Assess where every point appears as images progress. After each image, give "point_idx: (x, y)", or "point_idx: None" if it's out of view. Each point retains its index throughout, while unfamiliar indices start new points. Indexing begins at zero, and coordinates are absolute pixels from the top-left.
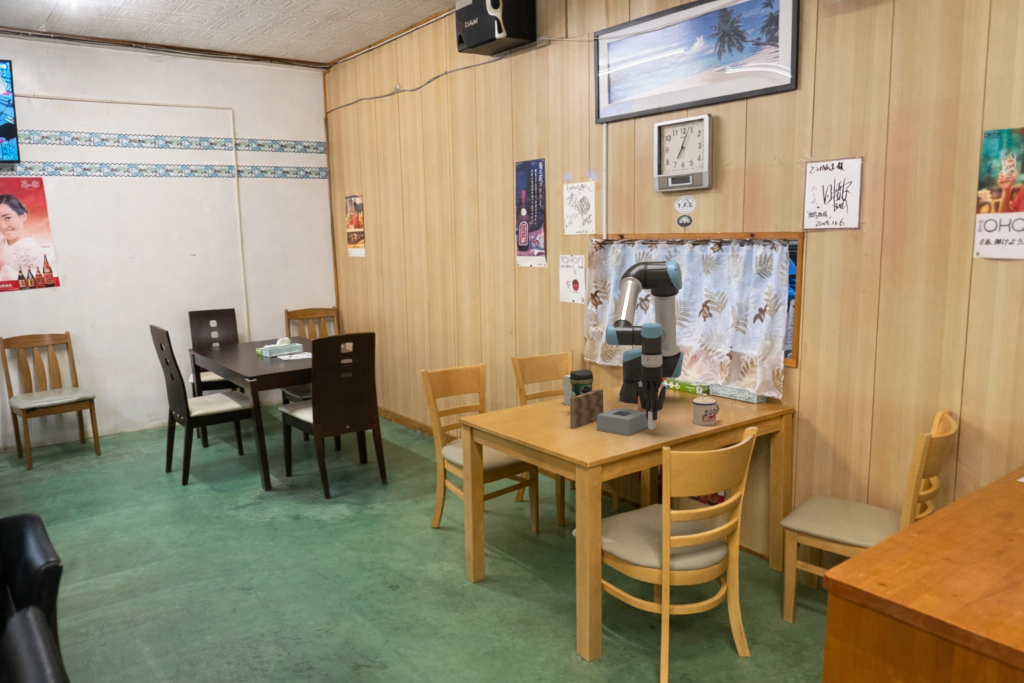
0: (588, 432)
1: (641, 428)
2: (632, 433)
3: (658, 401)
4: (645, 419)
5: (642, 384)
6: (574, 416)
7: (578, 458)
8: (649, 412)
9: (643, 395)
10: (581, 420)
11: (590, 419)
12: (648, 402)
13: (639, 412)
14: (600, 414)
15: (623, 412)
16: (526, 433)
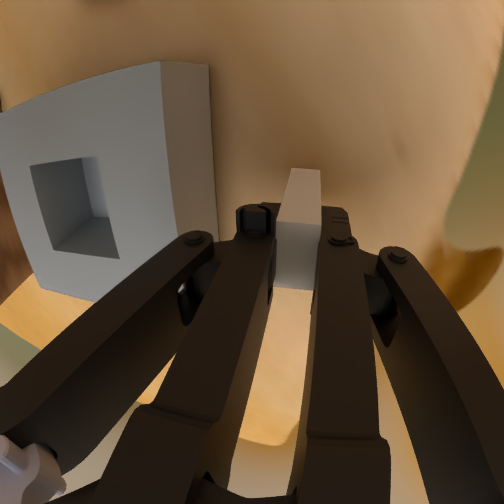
0: None
1: (208, 143)
2: (217, 235)
3: (400, 389)
4: (185, 98)
5: (35, 491)
6: (14, 290)
7: (246, 438)
8: (289, 284)
9: (128, 366)
10: (13, 240)
11: (2, 182)
12: (258, 354)
13: (114, 112)
14: (42, 278)
15: (48, 160)
16: (38, 334)
